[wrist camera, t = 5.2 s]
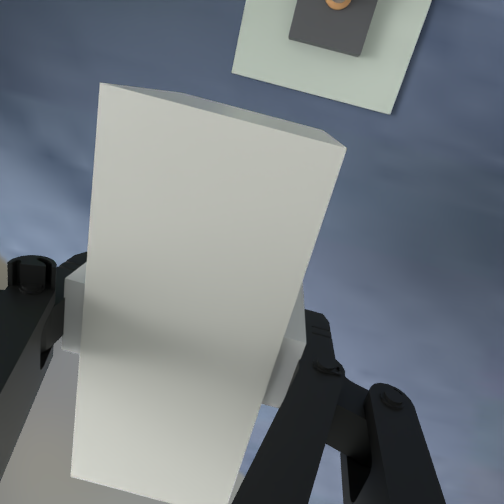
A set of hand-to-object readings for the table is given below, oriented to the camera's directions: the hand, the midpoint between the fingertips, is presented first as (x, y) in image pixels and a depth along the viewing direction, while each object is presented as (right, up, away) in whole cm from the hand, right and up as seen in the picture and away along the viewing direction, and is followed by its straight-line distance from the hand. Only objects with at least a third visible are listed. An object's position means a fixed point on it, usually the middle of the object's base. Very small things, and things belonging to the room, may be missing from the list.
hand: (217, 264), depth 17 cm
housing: (0, 0, 0) cm, 0 cm away
